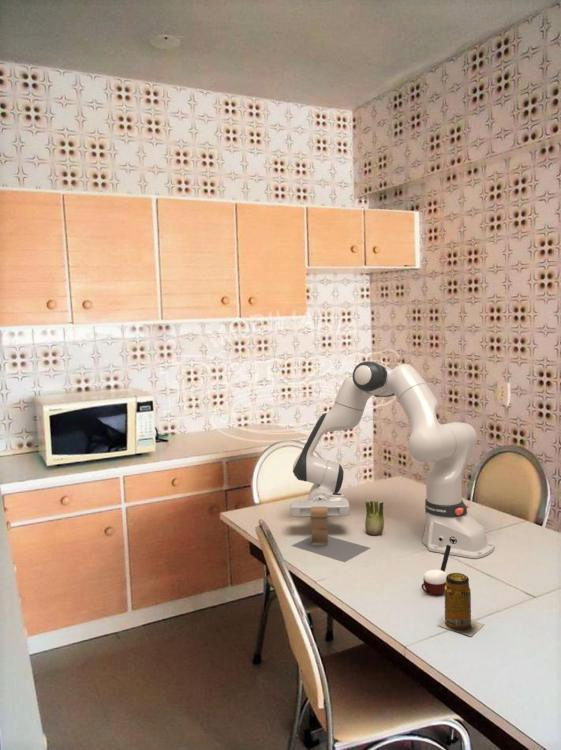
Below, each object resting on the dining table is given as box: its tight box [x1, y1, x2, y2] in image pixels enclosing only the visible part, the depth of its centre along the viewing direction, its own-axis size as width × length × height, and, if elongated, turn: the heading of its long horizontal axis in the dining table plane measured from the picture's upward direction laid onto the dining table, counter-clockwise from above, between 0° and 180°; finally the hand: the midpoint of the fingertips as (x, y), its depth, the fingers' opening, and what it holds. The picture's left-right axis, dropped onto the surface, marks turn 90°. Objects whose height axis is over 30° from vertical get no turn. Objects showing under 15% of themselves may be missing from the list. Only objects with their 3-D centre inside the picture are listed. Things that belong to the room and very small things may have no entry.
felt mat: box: [291, 535, 371, 563], centre depth 197 cm, size 22×14×1 cm, turn 47°
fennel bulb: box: [364, 500, 385, 537], centre depth 206 cm, size 6×5×12 cm
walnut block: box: [310, 506, 329, 545], centre depth 198 cm, size 5×5×12 cm
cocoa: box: [421, 545, 451, 596], centre depth 162 cm, size 10×6×12 cm, turn 93°
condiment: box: [438, 572, 485, 637], centre depth 145 cm, size 7×8×12 cm
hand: (319, 516), depth 199 cm, fingers closed
